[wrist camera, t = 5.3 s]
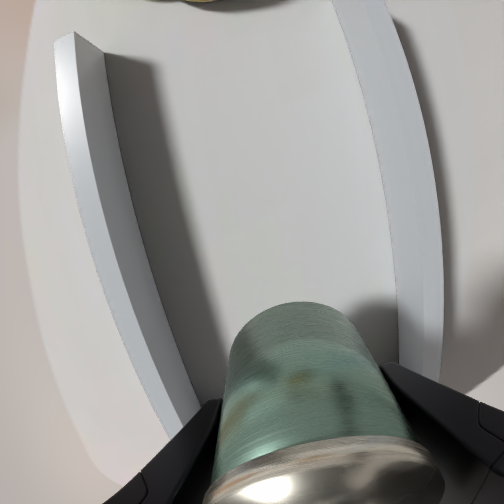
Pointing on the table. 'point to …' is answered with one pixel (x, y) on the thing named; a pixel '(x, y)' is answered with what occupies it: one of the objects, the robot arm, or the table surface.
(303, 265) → the table surface
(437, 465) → the robot arm
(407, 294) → the u-shaped frame
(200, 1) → the bread roll
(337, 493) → the tea tin
